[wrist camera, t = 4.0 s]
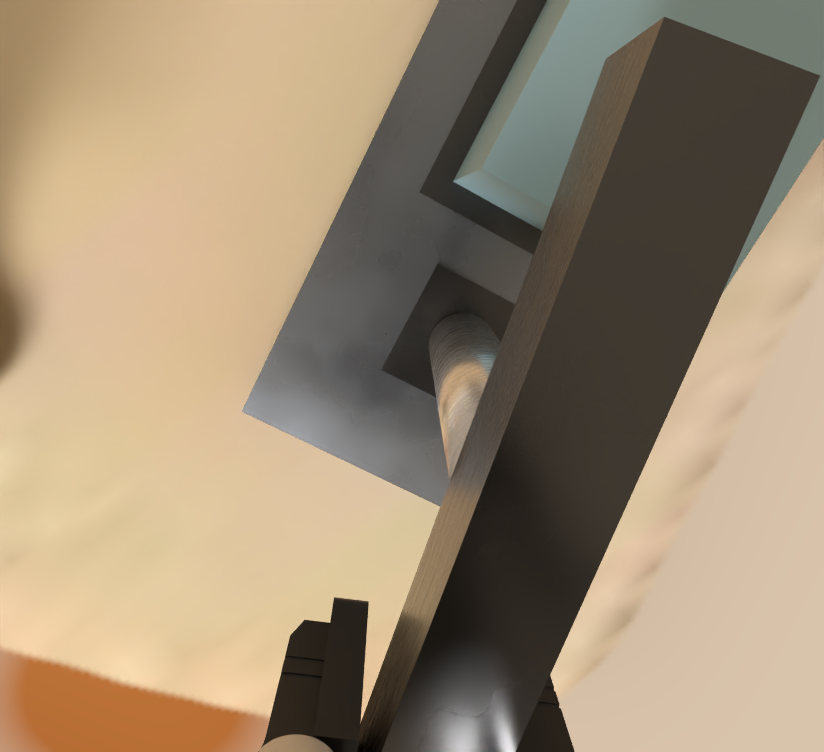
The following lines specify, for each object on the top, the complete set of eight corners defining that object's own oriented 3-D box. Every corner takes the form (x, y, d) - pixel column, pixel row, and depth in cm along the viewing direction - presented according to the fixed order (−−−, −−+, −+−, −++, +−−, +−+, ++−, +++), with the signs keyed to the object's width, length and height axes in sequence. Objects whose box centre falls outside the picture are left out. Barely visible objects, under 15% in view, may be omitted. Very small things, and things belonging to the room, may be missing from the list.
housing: (256, 392, 22) (240, 412, 20) (525, -164, 18) (540, -212, 16) (511, 516, 23) (521, 546, 21) (816, 25, 19) (866, 4, 17)
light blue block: (453, 181, 18) (481, 168, 11) (605, -113, 16) (750, -340, 9) (604, 265, 19) (717, 301, 12) (766, -8, 17) (1011, -151, 10)
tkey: (366, 524, 21) (321, 888, 10) (500, 131, 17) (655, 13, 7) (425, 541, 21) (447, 917, 10) (567, 154, 18) (828, 79, 7)
